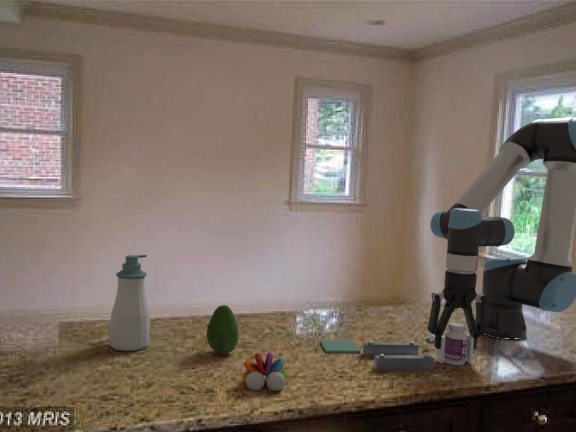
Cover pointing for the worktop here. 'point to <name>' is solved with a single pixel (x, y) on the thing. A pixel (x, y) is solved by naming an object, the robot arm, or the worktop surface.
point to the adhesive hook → (430, 337)
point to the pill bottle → (455, 344)
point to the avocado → (223, 330)
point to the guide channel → (397, 356)
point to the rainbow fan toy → (265, 373)
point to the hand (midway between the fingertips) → (454, 361)
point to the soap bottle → (130, 309)
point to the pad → (339, 346)
